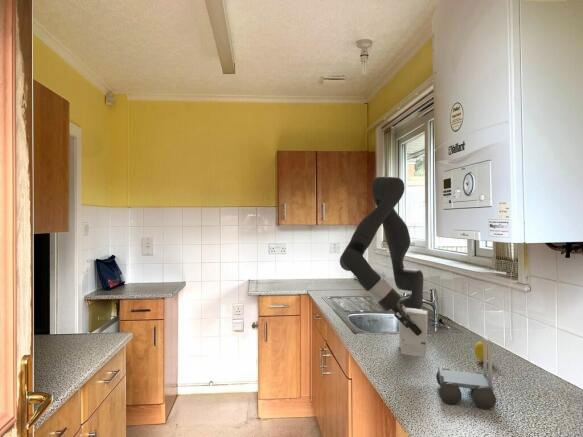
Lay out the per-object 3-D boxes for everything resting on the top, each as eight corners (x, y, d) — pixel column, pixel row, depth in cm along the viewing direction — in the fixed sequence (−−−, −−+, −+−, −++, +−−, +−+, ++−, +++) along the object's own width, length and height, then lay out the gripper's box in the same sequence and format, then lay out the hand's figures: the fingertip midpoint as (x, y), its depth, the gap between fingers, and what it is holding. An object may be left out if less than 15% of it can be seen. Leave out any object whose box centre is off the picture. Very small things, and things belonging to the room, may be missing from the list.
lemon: (482, 365, 138) (482, 344, 138) (471, 360, 143) (471, 339, 143) (494, 363, 139) (494, 342, 139) (483, 358, 144) (483, 338, 144)
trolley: (436, 385, 122) (436, 329, 121) (487, 391, 117) (486, 333, 117) (439, 403, 110) (439, 341, 110) (496, 410, 106) (496, 345, 105)
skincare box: (400, 354, 126) (400, 310, 126) (403, 348, 132) (402, 306, 132) (426, 358, 123) (426, 313, 123) (428, 351, 128) (428, 309, 128)
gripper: (390, 291, 122) (429, 330, 119) (392, 283, 136) (426, 317, 133) (374, 306, 124) (411, 345, 121) (377, 296, 138) (411, 331, 134)
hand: (419, 330), depth 127 cm, fingers closed on skincare box, 6 cm apart
